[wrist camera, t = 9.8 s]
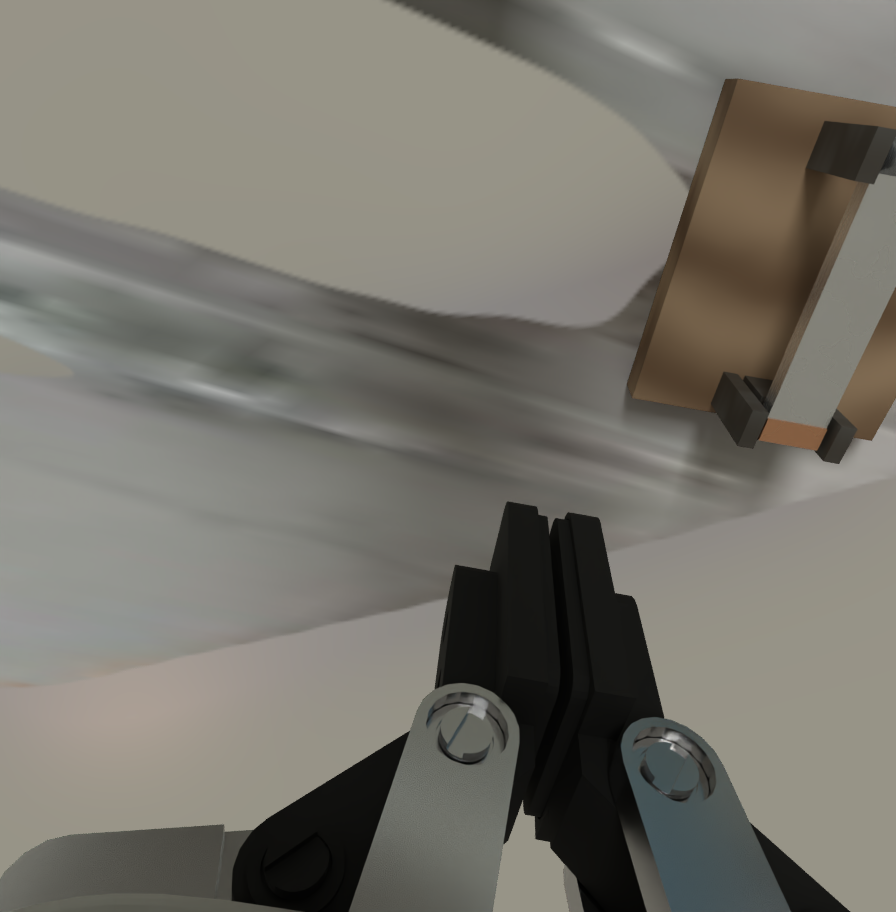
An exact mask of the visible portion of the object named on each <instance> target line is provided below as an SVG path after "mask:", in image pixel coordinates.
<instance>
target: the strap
mask: <svg viewBox="0 0 896 912" xmlns="http://www.w3.org/2000/svg"><path fill="white" fill-rule="evenodd" d="M895 287H896V137H895V140H894V142H893V144H892V146H891V148H890V150H889V153H888V155H887V157H886V159H885V161H884V164H883V166H882V168H881V170H880V172H879V175H878V177H877V179H876V181H875V183H874V184H868V183H863V182H857V185H856V187H855V189H854V192H853V194H852V196H851V199H850V201H849V203H848V206H847V208H846V210H845V213H844V215H843V218H842V220H841V222H840V225H839V227H838V229H837V232H836V234H835V236H834V239H833V241H832V243H831V246H830V248H829V250H828V253H827V255H826V257H825V260H824V262H823V264H822V267H821V269H820V272H819V274H818V276H817V279H816V281H815V283H814V286H813V288H812V290H811V293H810V295H809V297H808V300H807V302H806V304H805V307H804V309H803V311H802V314H801V316H800V318H799V321H798V323H797V326H796V328H795V330H794V333H793V335H792V337H791V340H790V342H789V344H788V347H787V349H786V351H785V354H784V356H783V358H782V361H781V363H780V365H779V368H778V370H777V372H776V375H775V377H774V379H773V382H772V384H771V387H770V389H769V391H768V394H767V396H766V398H765V401H764V403H763V406H764V408H765V409H766V410H767V411H768V413H769V415H768V417H767V419H766V421H765V424H764V426H763V428H762V430H761V432H760V435H759V437H758V439H757V440H759V441H765V442H770V443H776V444H782V445H787V446H793V447H798V448H804V449H810V450H815V451H817V450H818V448H819V446H820V444H821V442H822V440H823V438H824V436H825V434H826V432H827V427H828V425H829V423H830V421H831V419H832V417H833V415H834V412H835V410H836V408H837V406H838V404H839V402H840V400H841V398H842V396H843V394H844V392H845V390H846V388H847V386H848V384H849V382H850V380H851V378H852V375H853V373H854V371H855V369H856V367H857V365H858V363H859V361H860V359H861V357H862V355H863V353H864V351H865V349H866V347H867V345H868V343H869V341H870V339H871V336H872V334H873V332H874V330H875V328H876V326H877V324H878V322H879V320H880V318H881V316H882V314H883V312H884V310H885V308H886V306H887V304H888V302H889V299H890V297H891V295H892V293H893V291H894V289H895Z"/></svg>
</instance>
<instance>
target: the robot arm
mask: <svg viewBox="0 0 896 912" xmlns="http://www.w3.org/2000/svg"><path fill="white" fill-rule="evenodd" d="M522 800H523V807H524V813H525V815H531V816H535V836H536V839H537V840H543V841H548V842H550V846H551V849H552V850H553V851H554V852H555V854H556V855H557V856H558V857H559V858H560V859H561V861H562V862H563V863H564V864H565V866H564V871H563V873H564V886H565V891H566V897H567V902H568V907H569V912H850V911H849V910H848V909H847V908H845V907H844V906H843V905H842V904H841V903H840V902H839V901H838V900H836V899H835V898H834V897H833V896H832V895H831V894H830V893H829V892H827V891H826V890H825V889H824V888H823V887H822V886H821V885H820V884H818V883H817V882H816V881H815V880H814V879H813V878H812V877H811V876H809V875H808V874H807V873H806V872H805V871H804V870H803V869H802V868H800V867H799V866H798V865H797V864H796V863H795V862H794V861H793V860H791V859H790V858H789V857H788V856H787V855H786V854H785V853H784V852H782V851H781V850H780V849H779V848H778V847H777V846H776V845H775V844H774V843H772V842H771V841H770V840H769V839H768V838H767V837H766V836H765V835H763V834H762V833H761V832H760V831H759V830H758V829H757V828H755V827H754V826H753V825H752V824H751V823H750V822H749V820H748V818H747V816H746V813H745V811H744V809H743V807H742V805H741V803H740V800H739V798H738V796H737V794H736V792H735V790H734V787H733V786H732V783H731V781H730V779H729V777H728V774H727V772H726V770H725V768H724V766H723V764H722V762H721V761H720V759H719V757H718V756H717V754H716V753H715V751H714V750H713V749H712V748H711V746H709V744H708V743H707V742H706V741H705V740H704V739H703V738H702V737H700V736H699V735H698V734H696V733H695V732H693V731H692V730H691V729H689V728H688V727H686V726H684V725H681V724H679V723H677V722H675V721H672V720H668V719H664V714H663V711H662V706H661V702H660V698H659V694H658V690H657V686H656V682H655V677H654V673H653V669H652V665H651V661H650V657H649V653H648V649H647V645H646V640H645V636H644V633H643V628H642V624H641V620H640V616H639V612H638V608H637V604H636V602H635V600H634V598H633V597H632V596H628V595H622V594H617V593H615V591H614V586H613V582H612V577H611V572H610V567H609V562H608V557H607V552H606V547H605V543H604V538H603V533H602V528H601V523H600V520H599V518H597V517H592V516H586V515H580V514H575V513H567V515H566V516H565V519H558V518H556V519H555V520H554V522H553V525H552V528H551V531H550V535H549V527H548V518H547V516H541V515H538V509H537V507H536V506H530V505H524V504H519V503H513V502H507V503H506V506H505V509H504V513H503V517H502V521H501V525H500V530H499V534H498V538H497V542H496V546H495V550H494V554H493V558H492V562H491V566H490V571H487V570H481V569H476V568H470V567H465V566H459V565H455V568H454V572H453V576H452V581H451V586H450V591H449V596H448V601H447V606H446V612H445V618H444V623H443V630H442V637H441V644H440V652H439V660H438V668H437V675H436V683H435V690H433V691H432V692H431V693H430V694H429V695H427V696H426V697H425V698H424V699H423V701H422V703H421V704H420V706H419V708H418V710H417V713H416V715H415V718H414V721H413V724H412V727H411V730H410V731H409V732H407V733H405V734H404V735H402V736H401V737H399V738H397V739H396V740H394V741H393V742H391V743H389V744H388V745H386V746H384V747H383V748H381V749H380V750H378V751H376V752H375V753H373V754H371V755H370V756H368V757H367V758H365V759H363V760H362V761H360V762H358V763H357V764H355V765H353V766H352V767H350V768H349V769H347V770H345V771H344V772H342V773H341V774H339V775H337V776H336V777H334V778H332V779H331V780H329V781H327V782H326V783H324V784H323V785H321V786H319V787H318V788H316V789H314V790H313V791H311V792H310V793H308V794H306V795H305V796H303V797H302V798H300V799H298V800H297V801H295V802H293V803H292V804H290V805H289V806H287V807H285V808H284V809H282V810H280V811H279V812H277V813H276V814H274V815H272V816H271V817H269V818H268V819H266V820H265V821H264V822H263V823H262V824H260V825H259V826H258V827H257V828H255V829H254V830H246V831H232V832H225V831H224V825H209V826H194V827H180V828H166V829H151V830H135V831H121V832H105V833H91V834H76V835H68V836H63V837H59V838H55V839H50V840H47V841H45V842H43V843H41V844H40V845H38V846H36V847H35V848H33V849H31V850H29V851H27V852H25V853H24V854H23V855H22V856H21V857H20V858H19V859H18V860H17V861H16V862H15V863H14V864H12V866H10V867H9V868H8V869H7V870H6V871H5V872H4V874H3V875H2V877H1V879H0V912H492V911H493V905H494V899H495V892H496V886H497V880H498V874H499V867H500V861H501V855H502V849H503V844H505V843H506V842H507V841H508V839H509V836H510V834H511V831H512V828H513V825H514V823H515V820H516V817H517V815H518V812H519V809H520V806H521V804H522Z"/></svg>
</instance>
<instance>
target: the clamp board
mask: <svg viewBox="0 0 896 912" xmlns="http://www.w3.org/2000/svg"><path fill="white" fill-rule="evenodd" d="M895 137H896V107H893V106H887V105H882V104H876V103H870V102H865V101H859V100H854V99H848V98H843V97H837V96H832V95H826V94H821V93H815V92H809V91H804V90H798V89H793V88H787V87H782V86H776V85H771V84H765V83H760V82H754V81H748V80H743V79H725V82H724V85H723V88H722V91H721V94H720V98H719V101H718V104H717V107H716V110H715V113H714V116H713V119H712V122H711V125H710V129H709V132H708V135H707V138H706V141H705V144H704V147H703V150H702V153H701V156H700V159H699V163H698V166H697V169H696V172H695V175H694V178H693V181H692V184H691V187H690V190H689V193H688V197H687V200H686V203H685V206H684V209H683V212H682V215H681V218H680V221H679V225H678V228H677V231H676V234H675V237H674V240H673V243H672V246H671V249H670V253H669V255H668V258H667V262H666V265H665V268H664V271H663V274H662V277H661V280H660V283H659V286H658V289H657V292H656V296H655V299H654V302H653V305H652V308H651V311H650V314H649V317H648V320H647V323H646V326H645V330H644V333H643V336H642V339H641V342H640V345H639V348H638V351H637V354H636V357H635V361H634V364H633V367H632V370H631V373H630V376H629V379H628V382H627V386H628V388H629V391H630V393H631V396H632V398H635V399H641V400H646V401H652V402H658V403H663V404H669V405H674V406H680V407H686V408H691V409H697V410H702V411H708V412H714V413H717V414H718V416H719V418H720V419H721V421H722V422H723V424H724V425H725V427H726V429H727V430H728V432H729V433H730V435H731V436H732V438H733V440H734V441H735V443H736V444H737V446H741V447H747V448H752V449H753V448H754V445H755V443H756V441H757V439H758V437H759V435H760V432H761V430H762V428H763V426H764V424H765V421H766V419H767V417H768V415H769V413H768V411H767V410H766V409H765V408H764V406H763V403H764V401H765V398H766V396H767V394H768V391H769V389H770V387H771V384H772V382H773V379H774V377H775V375H776V372H777V370H778V368H779V365H780V363H781V361H782V358H783V356H784V354H785V351H786V349H787V347H788V344H789V342H790V340H791V337H792V335H793V333H794V330H795V328H796V326H797V323H798V321H799V318H800V316H801V314H802V311H803V309H804V307H805V304H806V302H807V300H808V297H809V295H810V293H811V290H812V288H813V286H814V283H815V281H816V279H817V276H818V274H819V272H820V269H821V267H822V264H823V262H824V260H825V257H826V255H827V253H828V250H829V248H830V246H831V243H832V241H833V239H834V236H835V234H836V232H837V229H838V227H839V225H840V222H841V220H842V218H843V215H844V213H845V210H846V208H847V206H848V203H849V201H850V199H851V196H852V194H853V192H854V189H855V187H856V185H857V182H863V183H868V184H874V183H875V181H876V179H877V177H878V175H879V172H880V170H881V168H882V166H883V164H884V161H885V159H886V157H887V155H888V153H889V150H890V148H891V146H892V144H893V142H894V140H895ZM895 398H896V287H895V289H894V291H893V293H892V295H891V297H890V299H889V302H888V304H887V306H886V308H885V310H884V312H883V314H882V316H881V318H880V320H879V322H878V324H877V326H876V328H875V330H874V332H873V334H872V336H871V339H870V341H869V343H868V345H867V347H866V349H865V351H864V353H863V355H862V357H861V359H860V361H859V363H858V365H857V367H856V369H855V371H854V373H853V375H852V378H851V380H850V382H849V384H848V386H847V388H846V390H845V392H844V394H843V396H842V398H841V400H840V402H839V404H838V406H837V408H836V410H835V412H834V415H833V417H832V419H831V421H830V423H829V425H828V427H827V432H826V434H825V436H824V438H823V440H822V442H821V444H820V446H819V448H818V450H817V451H815V450H814V451H815V452H816V453H817V454H818V455H819V457H820V458H821V459H822V460H823V461H825V462H831V463H836V464H839V463H840V461H841V459H842V457H843V456H844V454H845V452H846V450H847V448H848V446H849V445H850V443H851V441H852V439H853V437H854V438H859V439H865V440H870V441H872V439H873V438H874V436H875V434H876V432H877V430H878V429H879V427H880V425H881V423H882V422H883V420H884V418H885V416H886V414H887V413H888V411H889V409H890V407H891V406H892V404H893V402H894V400H895Z"/></svg>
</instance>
